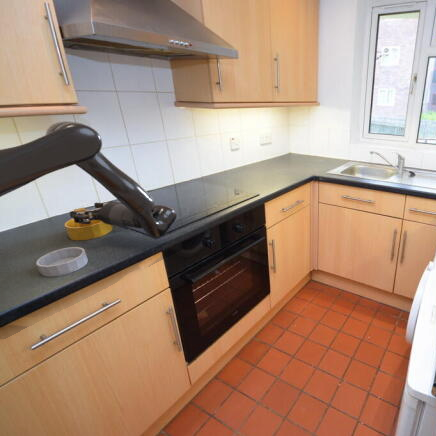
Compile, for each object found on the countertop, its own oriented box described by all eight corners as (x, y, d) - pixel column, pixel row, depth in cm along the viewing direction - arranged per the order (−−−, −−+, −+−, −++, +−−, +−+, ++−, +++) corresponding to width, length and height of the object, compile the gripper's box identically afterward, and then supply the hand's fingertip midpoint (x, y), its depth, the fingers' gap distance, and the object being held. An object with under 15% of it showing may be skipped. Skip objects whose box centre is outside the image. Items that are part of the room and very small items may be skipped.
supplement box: (93, 231, 111) (85, 206, 107) (94, 234, 109) (86, 209, 105) (82, 234, 109) (73, 208, 105) (83, 237, 107) (74, 211, 103)
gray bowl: (65, 278, 85) (61, 267, 83) (30, 275, 86) (25, 265, 84) (97, 257, 95) (93, 248, 94) (65, 255, 96) (61, 246, 95)
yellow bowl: (93, 241, 105) (89, 228, 103) (59, 239, 106) (54, 226, 104) (121, 225, 117) (117, 214, 115) (90, 224, 118) (86, 212, 116)
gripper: (135, 197, 105) (99, 193, 109) (96, 212, 93) (58, 206, 96) (140, 217, 108) (105, 212, 112) (103, 234, 96) (66, 227, 100)
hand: (83, 209), depth 104 cm, fingers open, 8 cm apart
